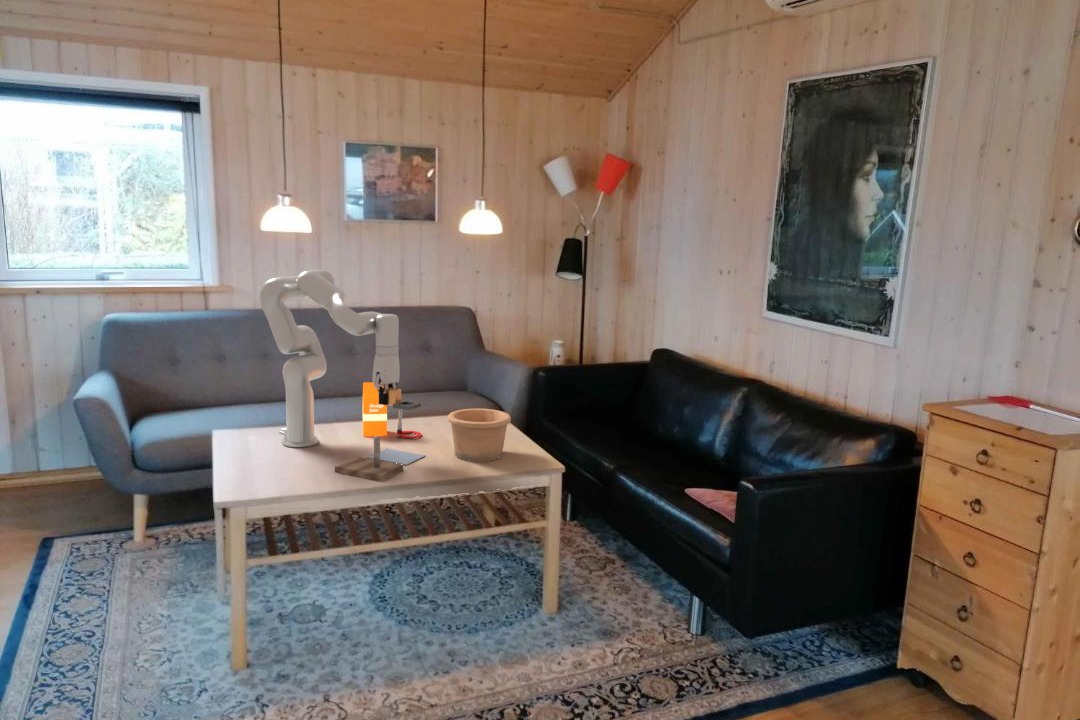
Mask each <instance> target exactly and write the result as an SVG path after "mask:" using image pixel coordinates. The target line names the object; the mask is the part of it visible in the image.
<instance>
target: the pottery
mask: <svg viewBox="0 0 1080 720" xmlns="http://www.w3.org/2000/svg"><path fill="white" fill-rule="evenodd" d="M447 420H448V423H450V424H451V431H452V440H453V447H454V449H453V450H454V455H455V457H456V456H457V457H456V458H458V459H459V458H461V459H460V460H462V459H464V460H463V461H465V460H470V461H469V462H471V461H488V460H489V461H488V462H491V461H490V460H493V461H495V460H494V459H497V458H499V457H500V458H501V457H502V456H503V451H504V445H505V438H506V432H507V428H508V425H509V424H510V422H511V420H512V417H511V415H510V414H509V413H507V412H505V411H502V410H496V409H491V408H477V407H476V408H463V409H458V410H454V411H451V412H450V413H449V414H448V415H447ZM501 455H502V456H501ZM500 458H499V459H500ZM497 460H498V459H497Z"/></svg>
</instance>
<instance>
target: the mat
mask: <svg viewBox="0 0 1080 720" xmlns="http://www.w3.org/2000/svg"><path fill="white" fill-rule="evenodd" d="M424 456H425V457H426V454H419V453H416V452H415V453H414V452H409V451H403V450H399V449H393V448H385V449H381V450H380V461H385V462H390V463H397V464H403V466H405V465H407V464H409V463H411V462H413V463H415V462H417V461H419V460H421V459H423V458H425V457H424ZM422 457H423V458H422ZM366 458H369V459H374V453H373V454H371V455H369V456H366ZM420 458H421V459H420ZM418 459H419V460H418ZM416 460H417V461H416ZM414 461H415V462H414ZM411 464H412V463H411ZM409 465H410V464H409ZM407 466H408V465H407Z"/></svg>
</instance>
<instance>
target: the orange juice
mask: <svg viewBox="0 0 1080 720" xmlns="http://www.w3.org/2000/svg"><path fill="white" fill-rule="evenodd" d="M381 384H382V383H381ZM382 387H384V386H382ZM387 432H388V406H387V405H380V404H378V390H377V389H376V388H375V387H374V383H373V381H372V382H363V383H362V437H363V436H365V437H374V436H380V435H381V436H380V437H384V436H383V435H387V436H388V433H387Z"/></svg>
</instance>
